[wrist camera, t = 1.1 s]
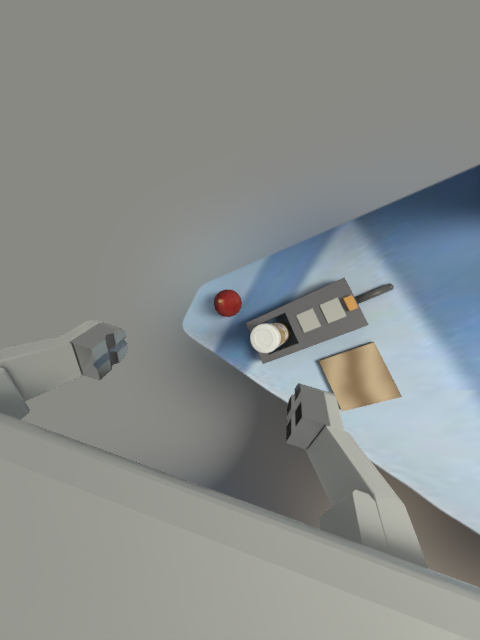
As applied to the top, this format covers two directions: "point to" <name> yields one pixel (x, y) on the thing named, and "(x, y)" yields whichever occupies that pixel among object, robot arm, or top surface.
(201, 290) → the top surface
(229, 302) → the onion
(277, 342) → the sprinkles bottle
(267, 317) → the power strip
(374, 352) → the wooden mat
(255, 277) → the top surface
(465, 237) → the top surface
